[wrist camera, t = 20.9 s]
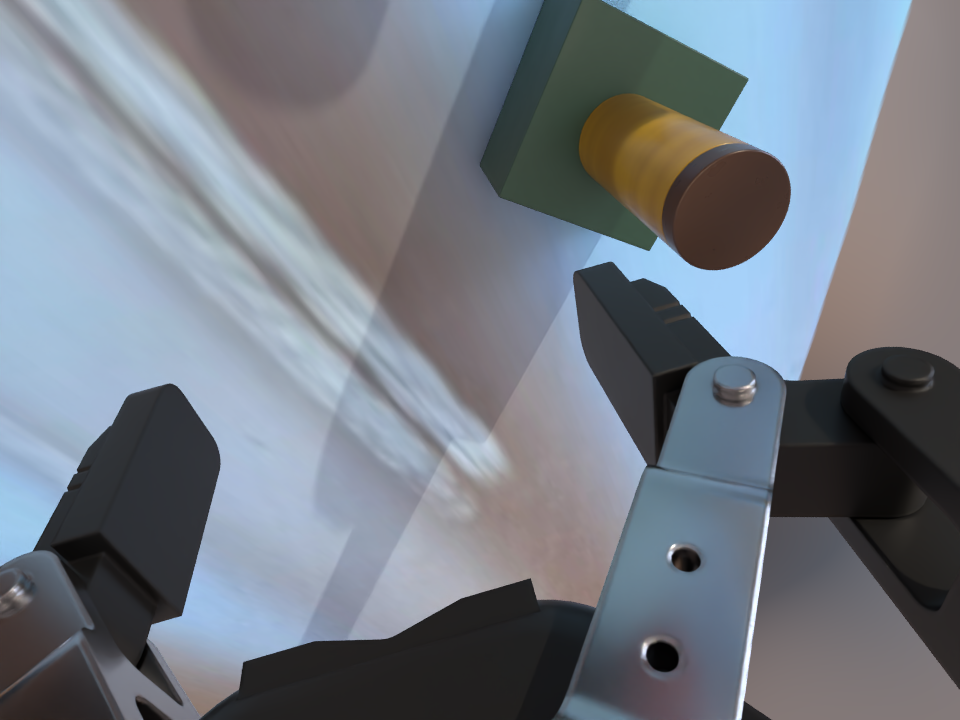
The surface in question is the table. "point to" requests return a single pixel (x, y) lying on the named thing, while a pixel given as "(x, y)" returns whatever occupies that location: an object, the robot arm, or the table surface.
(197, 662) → the table surface
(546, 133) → the block
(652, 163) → the lidded jar
